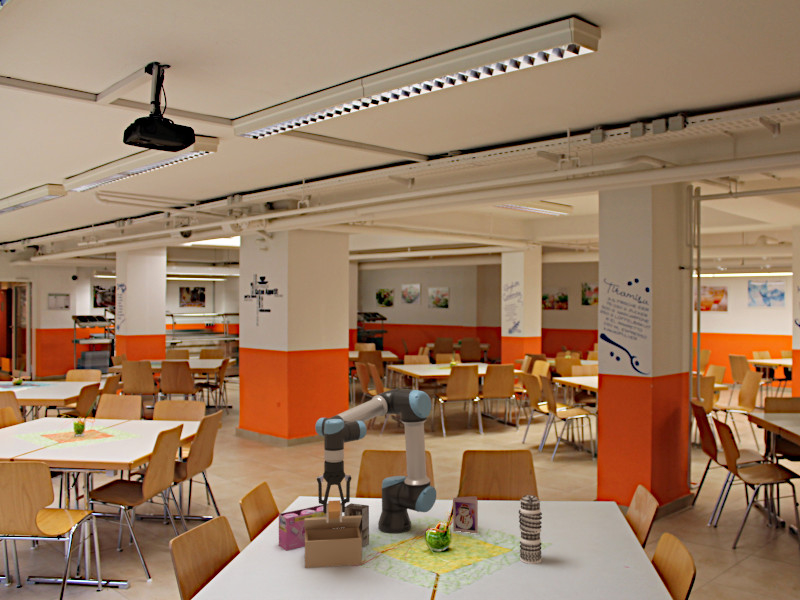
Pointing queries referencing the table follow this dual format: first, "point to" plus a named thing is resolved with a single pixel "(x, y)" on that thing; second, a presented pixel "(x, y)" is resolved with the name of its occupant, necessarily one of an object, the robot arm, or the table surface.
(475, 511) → the greeting card
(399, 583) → the table surface
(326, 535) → the cardboard carton
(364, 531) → the coffee box
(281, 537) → the gum box
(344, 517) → the lid flap
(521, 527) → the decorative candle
